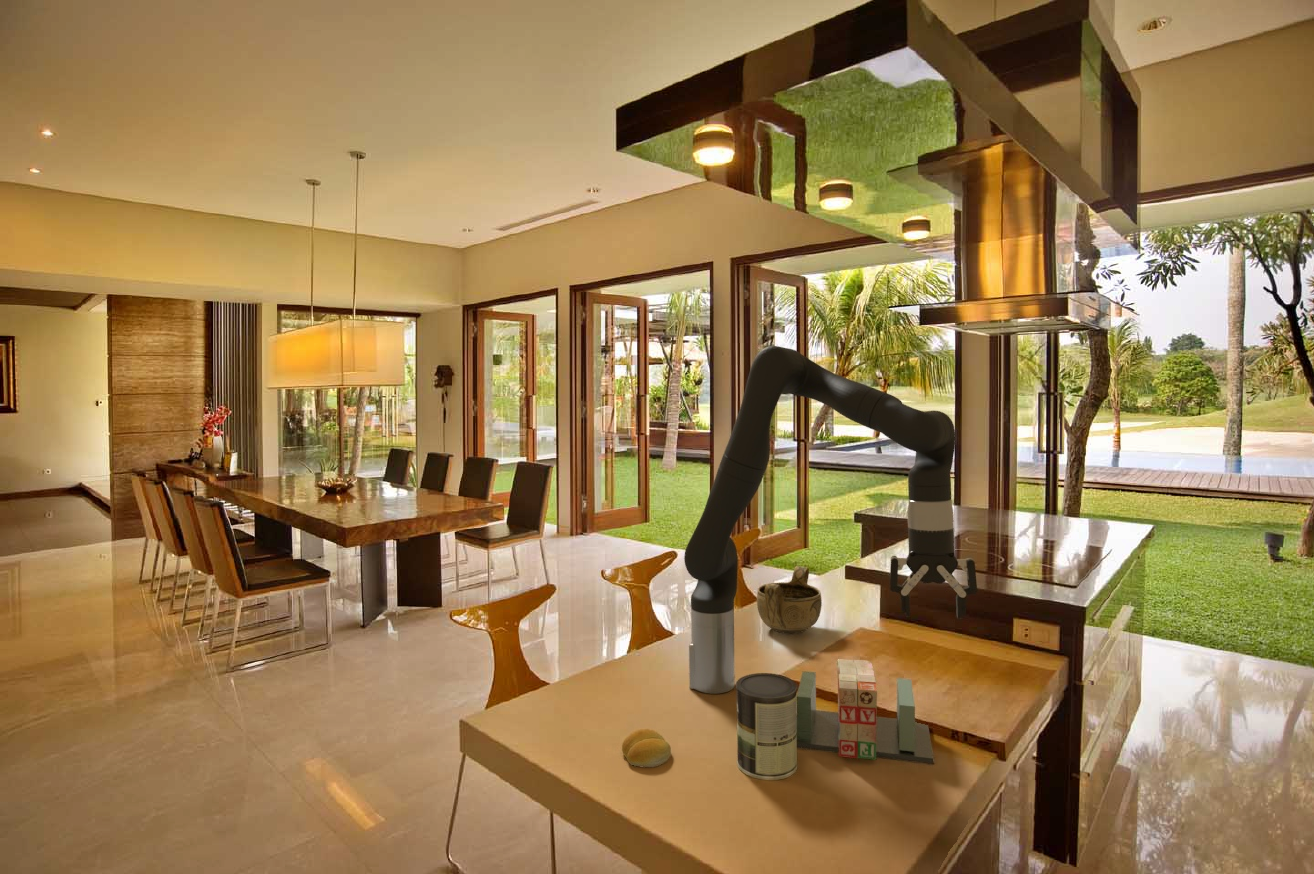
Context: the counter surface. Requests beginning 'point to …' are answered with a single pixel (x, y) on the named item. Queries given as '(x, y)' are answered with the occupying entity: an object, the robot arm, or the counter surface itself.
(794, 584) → the ceramic bowl
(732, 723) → the counter surface
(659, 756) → the bread roll
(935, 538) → the robot arm
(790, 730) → the coffee can
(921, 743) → the vise
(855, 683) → the stack of blocks
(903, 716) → the sliding jaw
